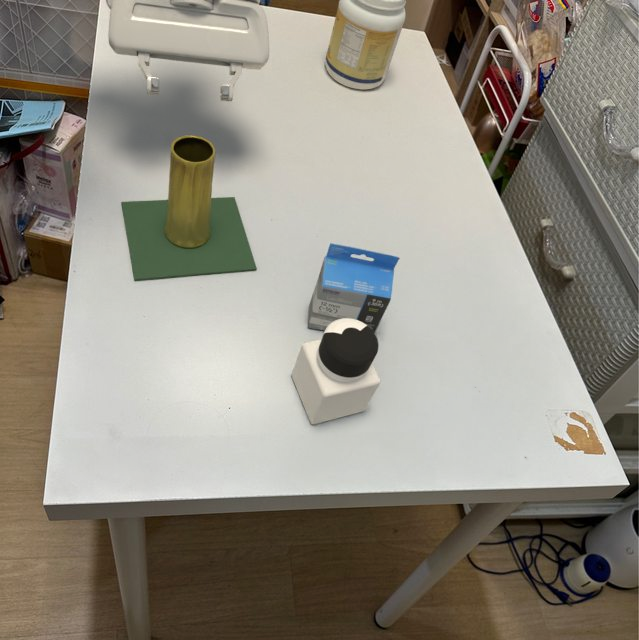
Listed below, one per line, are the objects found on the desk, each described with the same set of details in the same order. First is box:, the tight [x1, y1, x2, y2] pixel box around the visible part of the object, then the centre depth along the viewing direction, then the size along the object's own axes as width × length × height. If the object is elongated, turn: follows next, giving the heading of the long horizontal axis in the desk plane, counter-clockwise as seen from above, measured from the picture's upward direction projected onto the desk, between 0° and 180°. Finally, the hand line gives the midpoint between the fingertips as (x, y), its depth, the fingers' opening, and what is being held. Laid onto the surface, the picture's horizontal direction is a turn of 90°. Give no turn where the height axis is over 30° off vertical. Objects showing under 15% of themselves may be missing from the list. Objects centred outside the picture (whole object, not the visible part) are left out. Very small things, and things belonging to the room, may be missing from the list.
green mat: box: [120, 196, 258, 282], centre depth 83 cm, size 16×14×1 cm
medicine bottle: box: [291, 318, 382, 425], centre depth 68 cm, size 7×7×12 cm
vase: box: [165, 134, 216, 248], centre depth 77 cm, size 6×6×14 cm
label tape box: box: [307, 242, 401, 334], centre depth 75 cm, size 9×4×12 cm, turn 87°
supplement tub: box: [325, 0, 407, 91], centre depth 111 cm, size 12×12×17 cm
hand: (190, 96), depth 79 cm, fingers open, 8 cm apart
